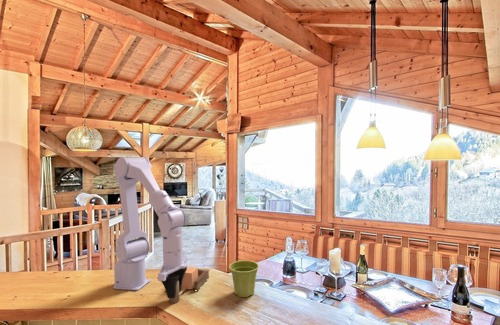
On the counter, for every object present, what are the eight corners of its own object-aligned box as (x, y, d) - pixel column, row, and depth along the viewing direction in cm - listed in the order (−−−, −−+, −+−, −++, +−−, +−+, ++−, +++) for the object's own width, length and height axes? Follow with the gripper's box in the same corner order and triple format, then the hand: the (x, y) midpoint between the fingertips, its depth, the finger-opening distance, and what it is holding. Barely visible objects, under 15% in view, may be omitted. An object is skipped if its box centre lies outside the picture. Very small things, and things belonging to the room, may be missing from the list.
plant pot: (260, 286, 92) (259, 260, 92) (258, 300, 83) (257, 271, 83) (232, 286, 93) (231, 260, 93) (227, 300, 84) (226, 271, 84)
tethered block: (164, 302, 83) (163, 282, 83) (184, 282, 97) (184, 265, 97) (179, 304, 82) (179, 283, 82) (198, 283, 96) (197, 266, 96)
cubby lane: (171, 289, 92) (171, 280, 92) (184, 276, 102) (184, 268, 102) (198, 291, 90) (197, 281, 90) (208, 277, 100) (208, 269, 100)
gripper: (173, 258, 76) (175, 308, 76) (194, 243, 90) (196, 284, 90) (150, 257, 78) (151, 306, 78) (174, 242, 92) (175, 283, 92)
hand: (174, 294), depth 84 cm, fingers closed on tethered block, 3 cm apart
